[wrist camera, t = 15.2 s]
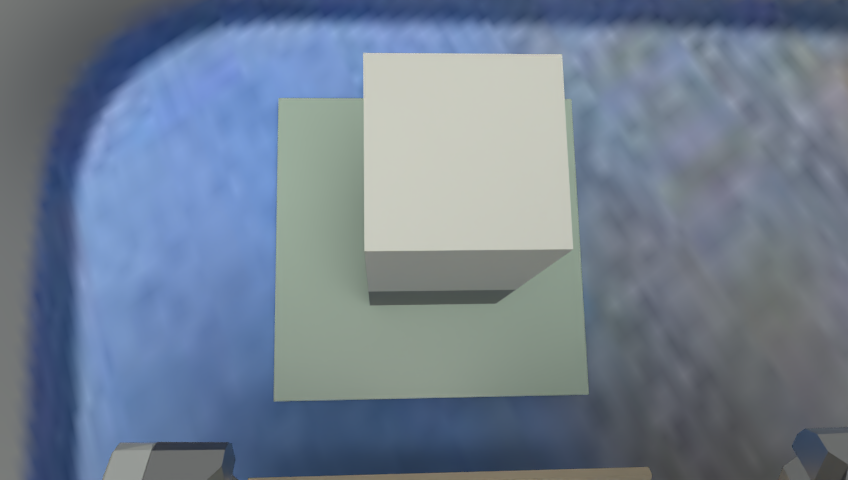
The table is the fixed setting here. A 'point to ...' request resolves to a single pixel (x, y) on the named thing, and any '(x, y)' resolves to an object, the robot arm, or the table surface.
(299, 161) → the pad
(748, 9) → the table surface
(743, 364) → the table surface
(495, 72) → the box
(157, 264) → the table surface
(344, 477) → the carton
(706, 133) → the table surface
